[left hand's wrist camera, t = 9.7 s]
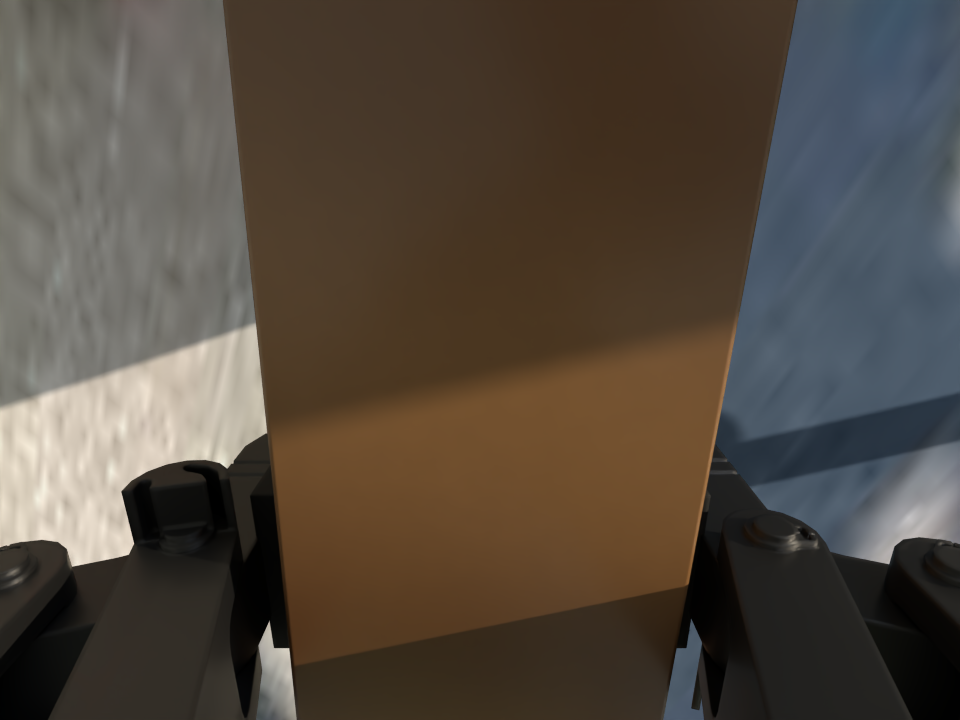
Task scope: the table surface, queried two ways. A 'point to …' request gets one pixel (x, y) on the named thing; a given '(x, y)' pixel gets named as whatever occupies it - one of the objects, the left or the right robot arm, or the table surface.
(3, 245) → the table surface
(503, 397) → the post
